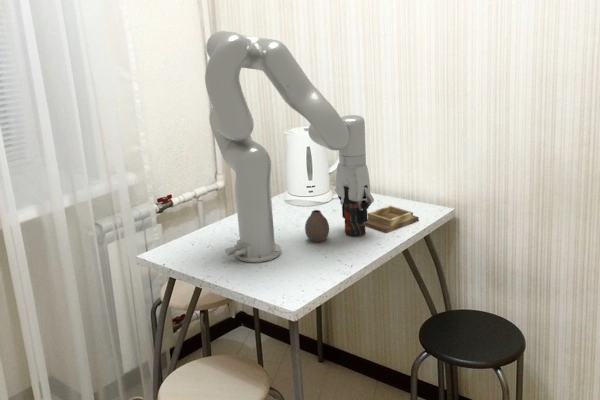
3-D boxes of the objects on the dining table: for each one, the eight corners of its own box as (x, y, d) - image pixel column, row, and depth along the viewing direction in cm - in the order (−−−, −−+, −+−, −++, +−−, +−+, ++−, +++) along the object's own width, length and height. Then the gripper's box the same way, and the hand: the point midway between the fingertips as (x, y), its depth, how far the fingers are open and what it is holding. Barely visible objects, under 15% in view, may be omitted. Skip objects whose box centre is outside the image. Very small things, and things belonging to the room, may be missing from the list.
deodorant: (366, 236, 190) (364, 186, 186) (345, 237, 191) (343, 187, 186) (364, 229, 196) (363, 180, 191) (344, 230, 196) (342, 181, 192)
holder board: (385, 233, 192) (385, 222, 191) (362, 224, 199) (361, 214, 198) (418, 220, 200) (418, 210, 199) (394, 213, 207) (394, 203, 206)
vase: (327, 244, 186) (326, 215, 183) (303, 244, 188) (301, 215, 185) (331, 235, 193) (330, 207, 190) (308, 235, 194) (306, 207, 191)
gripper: (322, 157, 191) (325, 216, 196) (363, 167, 178) (365, 230, 183) (342, 152, 195) (344, 209, 201) (383, 162, 182) (385, 223, 188)
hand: (354, 219), depth 192 cm, fingers closed on deodorant, 5 cm apart
